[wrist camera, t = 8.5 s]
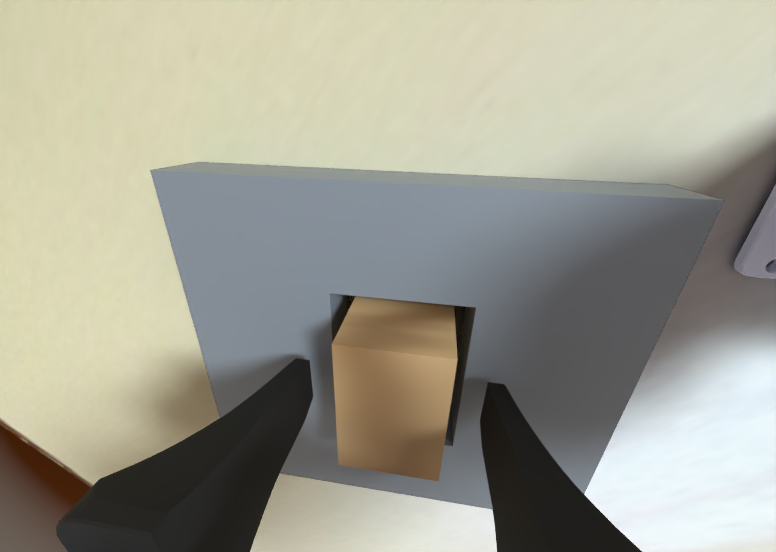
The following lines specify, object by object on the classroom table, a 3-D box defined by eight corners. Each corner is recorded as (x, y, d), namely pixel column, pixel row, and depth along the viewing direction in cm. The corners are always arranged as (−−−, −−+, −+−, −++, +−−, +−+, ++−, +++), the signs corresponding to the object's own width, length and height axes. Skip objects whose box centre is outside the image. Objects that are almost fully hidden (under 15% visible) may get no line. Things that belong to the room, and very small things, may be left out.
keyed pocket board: (668, 184, 11) (724, 200, 9) (554, 473, 18) (570, 522, 16) (198, 162, 14) (150, 170, 11) (256, 427, 20) (233, 465, 18)
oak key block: (452, 285, 14) (457, 359, 10) (439, 387, 17) (438, 481, 13) (364, 277, 15) (331, 344, 10) (365, 377, 17) (338, 464, 13)
